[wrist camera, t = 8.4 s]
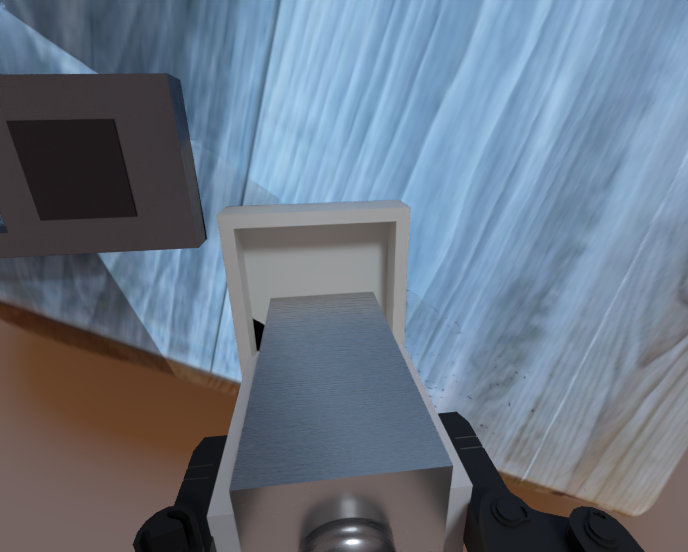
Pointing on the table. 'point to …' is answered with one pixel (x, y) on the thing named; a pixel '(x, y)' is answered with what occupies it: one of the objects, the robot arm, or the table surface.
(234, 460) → the robot arm
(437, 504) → the grey block with knob
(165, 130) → the grey flat block
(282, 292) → the parts tray
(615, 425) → the table surface
